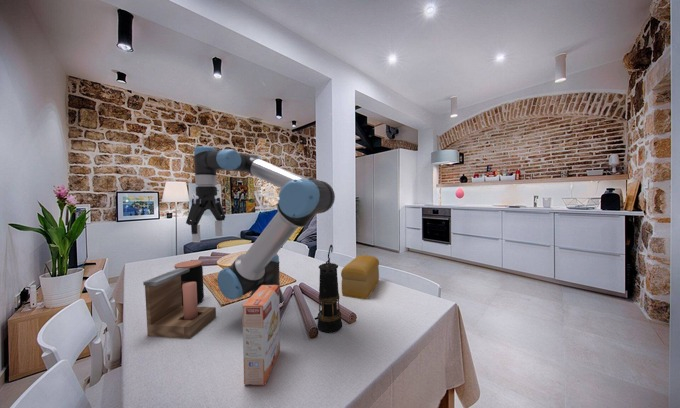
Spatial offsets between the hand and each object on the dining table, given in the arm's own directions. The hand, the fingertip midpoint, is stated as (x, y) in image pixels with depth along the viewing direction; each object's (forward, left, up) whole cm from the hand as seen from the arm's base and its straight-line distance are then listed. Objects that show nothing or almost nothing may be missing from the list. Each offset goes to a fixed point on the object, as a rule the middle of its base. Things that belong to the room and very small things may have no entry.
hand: (208, 238), depth 97 cm
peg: (+1, +10, -31) cm, 32 cm away
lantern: (-50, +5, -31) cm, 59 cm away
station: (+4, +10, -31) cm, 33 cm away
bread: (-60, -31, -31) cm, 75 cm away
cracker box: (-35, +27, -31) cm, 54 cm away
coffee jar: (+16, -8, -31) cm, 36 cm away
